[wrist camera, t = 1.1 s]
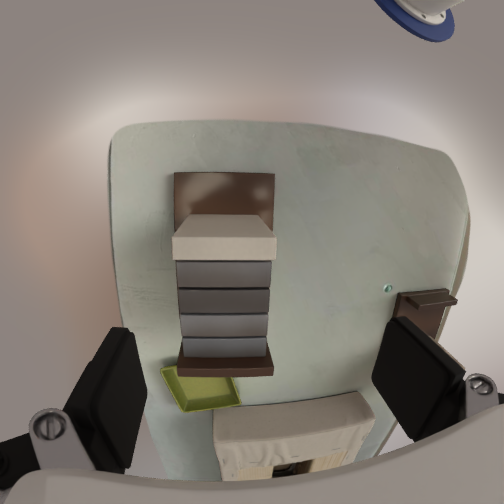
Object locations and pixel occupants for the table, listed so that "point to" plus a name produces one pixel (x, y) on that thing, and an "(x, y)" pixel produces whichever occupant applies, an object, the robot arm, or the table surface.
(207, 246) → the cream book
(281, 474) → the box
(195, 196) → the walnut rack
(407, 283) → the table surface
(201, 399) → the green tray
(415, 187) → the table surface
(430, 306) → the dark brown rack
